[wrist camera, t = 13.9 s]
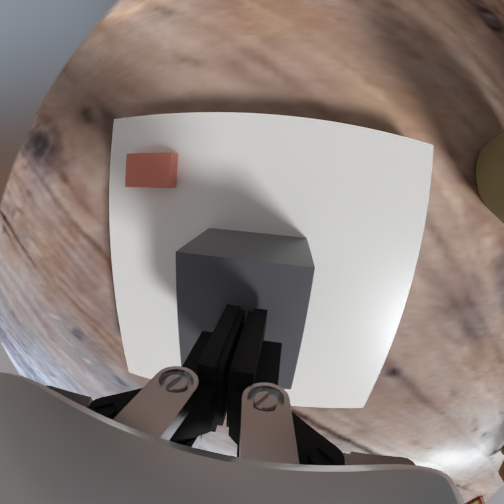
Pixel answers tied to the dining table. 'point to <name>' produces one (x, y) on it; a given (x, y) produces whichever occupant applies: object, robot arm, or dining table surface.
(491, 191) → the squeeze bottle
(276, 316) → the plug
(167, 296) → the socket
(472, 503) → the baking soda box
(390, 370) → the dining table surface
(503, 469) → the lantern
